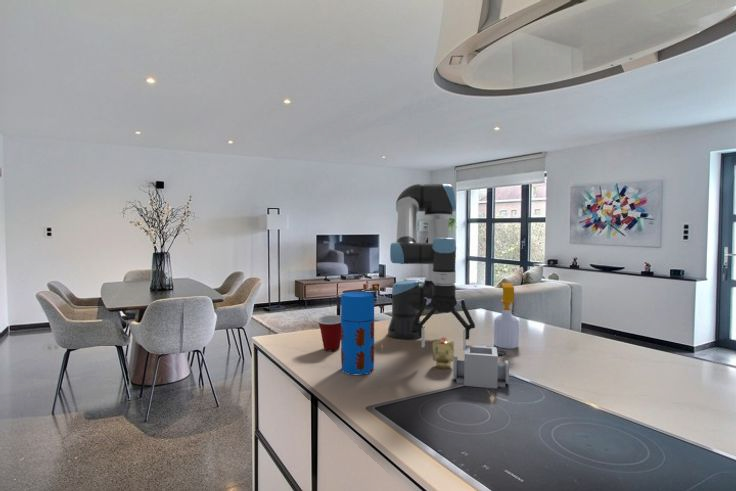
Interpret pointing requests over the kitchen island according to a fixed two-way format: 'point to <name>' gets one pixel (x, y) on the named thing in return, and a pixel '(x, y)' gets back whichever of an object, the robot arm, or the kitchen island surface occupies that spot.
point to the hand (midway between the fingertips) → (443, 347)
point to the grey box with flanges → (481, 368)
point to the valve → (443, 352)
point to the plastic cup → (330, 331)
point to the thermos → (357, 332)
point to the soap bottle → (506, 322)
